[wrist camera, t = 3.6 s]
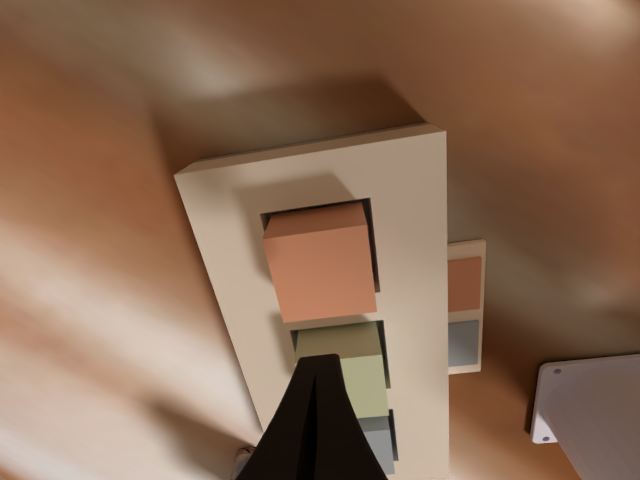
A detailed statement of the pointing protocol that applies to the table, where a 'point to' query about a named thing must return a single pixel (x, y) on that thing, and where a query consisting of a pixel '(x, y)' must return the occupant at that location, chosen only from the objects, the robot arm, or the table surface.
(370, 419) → the slate key
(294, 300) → the terracotta key
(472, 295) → the tile
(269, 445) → the robot arm
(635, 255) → the table surface
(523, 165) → the table surface
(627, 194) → the table surface
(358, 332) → the sage key
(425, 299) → the keypad base
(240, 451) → the flask
